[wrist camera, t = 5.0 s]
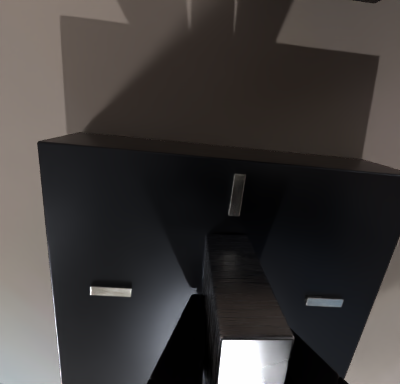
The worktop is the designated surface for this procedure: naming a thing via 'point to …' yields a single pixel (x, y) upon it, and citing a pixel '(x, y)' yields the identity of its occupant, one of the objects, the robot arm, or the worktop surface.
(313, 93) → the worktop surface
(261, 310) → the dial
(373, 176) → the dial panel
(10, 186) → the worktop surface
